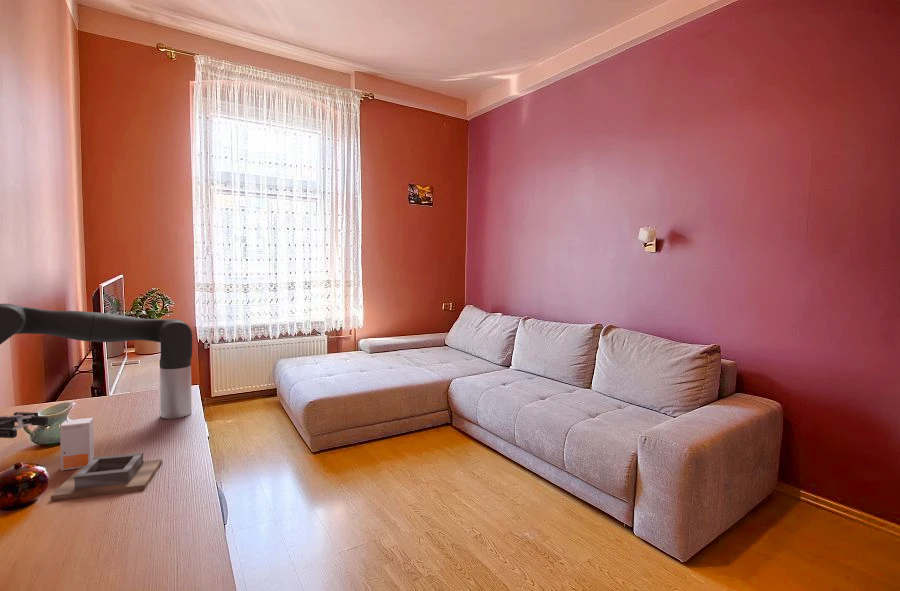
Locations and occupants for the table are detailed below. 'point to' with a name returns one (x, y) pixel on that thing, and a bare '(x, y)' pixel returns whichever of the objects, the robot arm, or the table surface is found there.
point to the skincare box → (76, 443)
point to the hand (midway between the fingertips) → (31, 427)
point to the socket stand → (109, 476)
